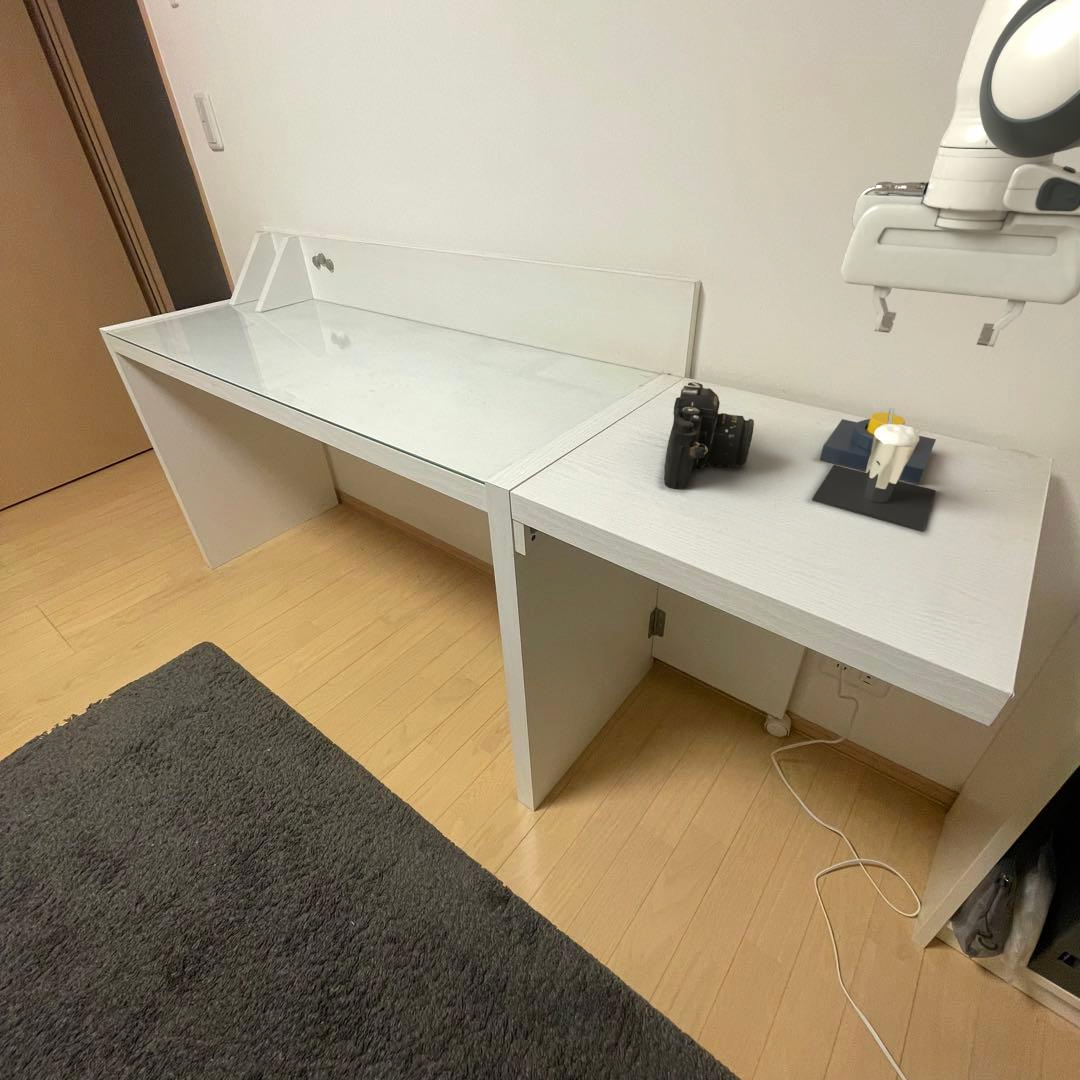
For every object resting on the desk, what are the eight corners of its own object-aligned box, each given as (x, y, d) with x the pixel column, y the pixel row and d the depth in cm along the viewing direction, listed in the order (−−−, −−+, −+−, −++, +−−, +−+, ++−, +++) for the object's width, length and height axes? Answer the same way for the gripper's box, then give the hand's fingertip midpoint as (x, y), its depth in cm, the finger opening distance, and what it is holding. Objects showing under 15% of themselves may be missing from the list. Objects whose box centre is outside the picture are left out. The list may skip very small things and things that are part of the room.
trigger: (902, 430, 81) (907, 416, 80) (897, 442, 78) (902, 427, 77) (870, 424, 83) (874, 409, 82) (863, 434, 80) (868, 420, 79)
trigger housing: (930, 453, 83) (941, 426, 81) (918, 484, 77) (929, 456, 74) (838, 432, 89) (845, 407, 87) (819, 460, 82) (826, 433, 80)
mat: (934, 492, 75) (936, 490, 75) (921, 531, 68) (923, 528, 68) (832, 467, 81) (833, 464, 80) (811, 500, 74) (812, 497, 74)
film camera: (768, 495, 75) (786, 420, 70) (668, 497, 75) (677, 422, 69) (729, 431, 90) (741, 365, 84) (646, 433, 90) (652, 367, 84)
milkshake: (885, 483, 76) (912, 408, 70) (902, 506, 72) (932, 428, 66) (847, 482, 77) (871, 408, 71) (861, 505, 72) (888, 428, 66)
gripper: (853, 184, 58) (819, 330, 66) (1128, 191, 48) (1049, 362, 56) (868, 177, 62) (834, 316, 70) (1124, 182, 52) (1051, 343, 60)
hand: (932, 337), depth 63 cm, fingers open, 8 cm apart
